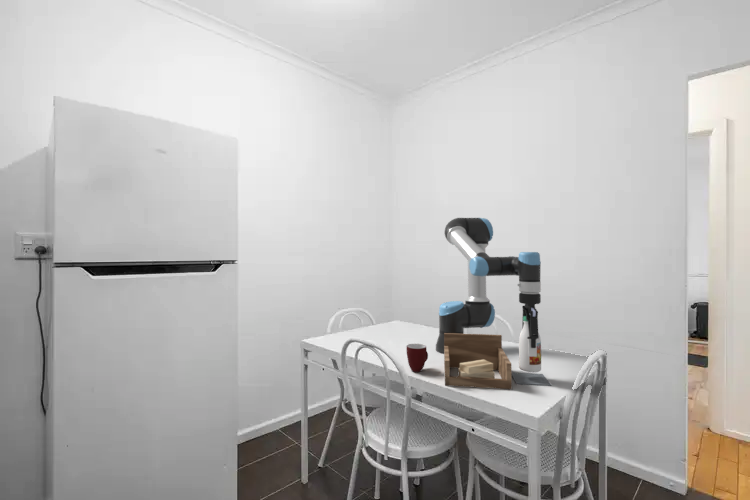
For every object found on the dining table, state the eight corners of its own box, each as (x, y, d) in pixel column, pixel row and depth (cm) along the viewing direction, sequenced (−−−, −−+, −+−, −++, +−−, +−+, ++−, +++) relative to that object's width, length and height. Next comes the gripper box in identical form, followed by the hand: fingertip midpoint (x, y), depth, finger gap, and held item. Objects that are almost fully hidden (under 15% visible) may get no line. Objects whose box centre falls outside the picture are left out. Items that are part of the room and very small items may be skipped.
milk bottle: (521, 372, 139) (520, 318, 139) (517, 365, 146) (517, 314, 146) (543, 373, 137) (543, 318, 137) (538, 366, 145) (538, 315, 145)
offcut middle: (458, 374, 142) (458, 367, 142) (489, 374, 142) (489, 367, 142) (461, 379, 137) (461, 372, 137) (494, 379, 137) (494, 372, 137)
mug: (417, 364, 160) (417, 341, 160) (433, 368, 155) (433, 344, 155) (402, 371, 152) (402, 346, 152) (419, 375, 147) (419, 349, 147)
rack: (444, 366, 158) (444, 333, 158) (501, 368, 154) (501, 334, 154) (445, 385, 136) (444, 346, 136) (511, 389, 132) (511, 349, 132)
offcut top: (459, 369, 140) (459, 363, 140) (483, 365, 144) (483, 359, 144) (468, 374, 135) (468, 367, 135) (493, 370, 139) (493, 363, 139)
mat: (510, 373, 149) (510, 372, 149) (542, 374, 147) (542, 373, 147) (516, 384, 137) (516, 382, 137) (551, 385, 135) (551, 384, 135)
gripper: (514, 289, 152) (514, 346, 152) (525, 295, 132) (525, 360, 132) (533, 290, 151) (533, 346, 151) (547, 296, 131) (548, 361, 131)
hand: (530, 353), depth 142 cm, fingers closed on milk bottle, 7 cm apart
